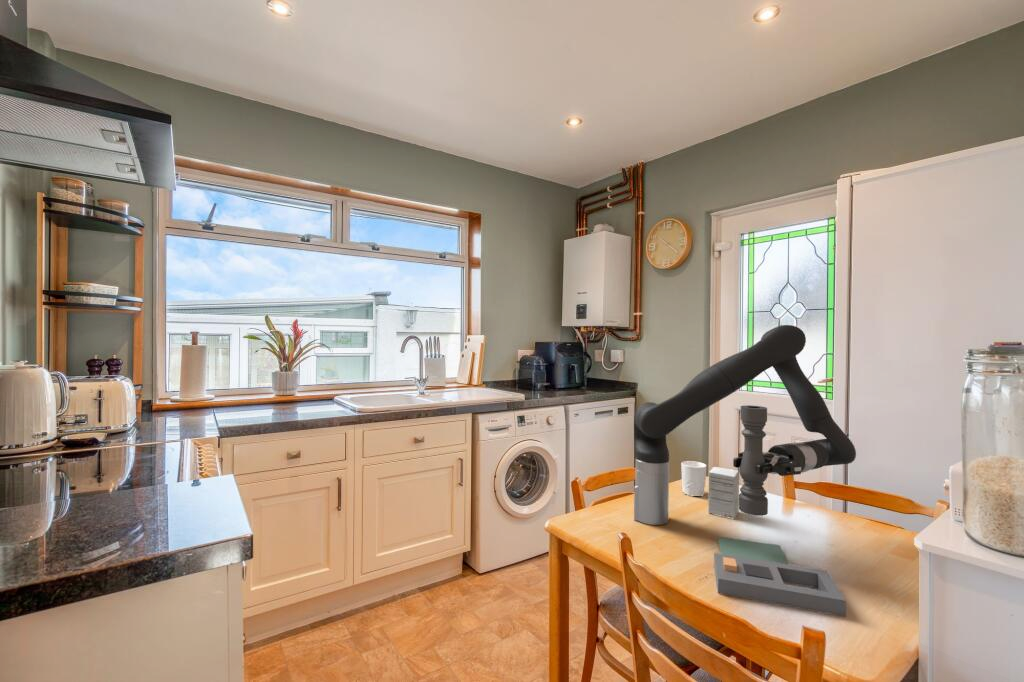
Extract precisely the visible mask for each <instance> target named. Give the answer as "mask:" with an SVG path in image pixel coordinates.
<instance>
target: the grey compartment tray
mask: <svg viewBox="0 0 1024 682" xmlns="http://www.w3.org/2000/svg"><path fill="white" fill-rule="evenodd" d="M713 568H714V575H715V583H716V587H717V588H716V589H717V593H718V594H721V595H727V596H732V597H737V598H742V599H748V600H753V601H759V602H763V603H764V602H765V603H769V604H775V605H780V606H786V607H791V608H798V609H802V610H808V611H814V612H819V613H825V614H829V615H835V616H839V617H845V618H846V617H847V599H846V598H845V597H844V595H843V593H842V592H841V591H840V589H839V587H838V586H837V584H836V582H834V579H833V578H832V576H831V574H829V572H828V570H826V569H825V570H824V569H819V568H812V567H806V566H801V565H800V566H799V565H794V564H789V565H788V564H782V563H776V562H769V561H763V560H757V559H750V558H744V557H738V556H731V555H725V554H721V553H718V552H713ZM786 583H787V584H788V585H787V584H786ZM789 584H790V585H789ZM791 584H792V585H791ZM793 585H794V586H793ZM795 585H798V586H795ZM800 586H802V587H800ZM803 586H804V587H803ZM805 587H806V588H805ZM807 587H809V588H807ZM811 588H815V589H811ZM816 588H817V589H816Z"/></svg>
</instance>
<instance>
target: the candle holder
mask: <svg viewBox="0 0 1024 682" xmlns="http://www.w3.org/2000/svg"><path fill="white" fill-rule="evenodd" d="M740 420H741V424H742V425H743V427H744V429H742V430H741V435H742V436H743V437H744V451H743V452H744V453H743V457H742V460H741V464H740V467H738V469H739V470H738V471H739V476H740V477H741V479H742V482H743V484H742V486H741V487H739V492H740V493H739V512H742V513H744V514H747V515H750V516H758V517H759V516H762V517H763V516H766V515H768V513H769V509H768V508H769V499H768V497H767V494H768V492H767V491H766V490H765V488H764V485H765V484H764V482H765V481H766V480H767V479H768V476H769V473H768V474H763V475H759V474H757V465H759V464H765V459H764V455H763V452H764V451H763V445H764V443H763V439H764V438H765V437H766V436H767V433H766V432H765V431H764V430H763V429H764V428H765V426H766V425H767V424H766V423H767V422H768V407H765V406H761V405H740Z"/></svg>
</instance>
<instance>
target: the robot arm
mask: <svg viewBox="0 0 1024 682" xmlns="http://www.w3.org/2000/svg"><path fill="white" fill-rule="evenodd" d="M806 339H807V338H806V335H805V332H804V331H803V330H802V329H801V328H800V327H797V326H796V325H791V324H782V325H778V326H776V327H773V328H772V329H769V330H768V331H766V332H765V333H763V334H762V336H761V338H760V340H758V341H757V342H756V343H755V344H753V345H751V346H750V347H748V348H746V349H744V350H742V351H740V352H737V353H735V354H732V355H730V356H728V357H726V358H724V359H722V360H720V361H718V362H716V363H714V364H713V365H711V366H709V367H707V368H706V369H704V370H702V371H701V372H700V373H698V374H697V375H696V376H694V377H693V378H692V379H691V380H690V381H689V382H688V383H687V384H686V385H685V386H684V387H683V389H682V390H680V391H679V392H677V393H676V394H675V395H673V396H671V397H669V398H668V399H666V400H663V401H662V402H660V403H656V402H652V401H651V402H644V403H642V404H640V405H639V406H638V407H637V409H636V410H635V413H634V416H633V418H634V419H633V445H634V451H635V472H634V473H635V477H634V478H635V479H634V481H635V482H634V484H635V485H634V489H633V490H634V491H633V492H634V494H633V495H634V496H633V497H634V498H633V501H634V502H633V505H634V507H633V521H636V522H640V523H643V524H646V525H653V526H662V525H665V524H667V523H669V495H670V494H669V493H670V491H669V489H670V488H669V485H670V484H669V483H670V481H669V480H670V450H669V449H668V443H667V435H669V434H670V433H671V432H673V431H674V430H675V429H677V428H678V427H679V426H680V425H682V424H683V423H685V422H686V421H687V420H688V419H690V418H691V417H693V416H694V415H697V414H698V413H700V412H702V411H704V410H705V409H707V408H709V407H711V406H713V405H714V404H715V403H718V402H719V401H722V400H723V399H725V398H727V397H729V396H730V395H732V394H733V393H735V392H737V391H738V390H739V389H741V388H742V387H744V386H745V385H747V384H748V383H750V382H752V380H754V379H755V378H756V377H758V376H759V375H760V374H762V373H763V372H765V371H766V370H768V369H770V368H772V367H773V370H774V371H775V372H776V374H777V375H778V378H779V379H780V381H781V382H782V384H783V386H784V387H785V390H786V391H787V393H788V394H789V395H788V396H789V397H790V399H791V402H792V403H793V405H794V408H795V409H796V412H797V414H798V416H799V418H800V420H801V422H802V424H803V425H802V426H803V427H804V429H805V430H806V431H807V432H810V433H816V434H817V433H818V434H820V435H821V436H823V437H824V438H821V439H815V440H810V441H802V442H790V443H788V442H787V443H783V444H782V443H781V444H776V445H773V446H771V447H770V448H769V449H768V451H767V452H766V451H763V455H764V459H765V464H759V465H757V474H759V475H763V474H768V475H769V474H771V475H779V477H780V476H781V477H788V476H795V475H802V474H803V473H806V472H809V471H813V470H816V469H820V468H823V467H828V466H829V467H830V466H837V465H838V466H839V465H849V464H852V463H853V462H854V461H855V459H856V456H857V451H856V448H855V445H854V444H853V441H852V440H851V439H850V438H849V437H848V436H847V434H845V432H844V431H843V430H842V429H841V427H840V426H839V425H838V424H837V423H836V421H835V420H834V419H833V416H832V414H831V412H830V411H829V410H830V409H829V408H828V407H827V404H826V402H825V400H824V399H823V397H822V394H820V392H819V391H818V390H817V388H816V387H815V386H814V385H813V383H811V381H810V380H809V379H808V377H807V376H806V374H805V373H804V371H803V370H802V368H801V366H800V365H799V362H798V359H797V357H796V356H798V355H799V354H801V352H802V351H803V350H804V348H805V346H806V343H807V341H806ZM743 453H744V451H742V452H738V455H737V456H738V457H734V458H733V463H732V464H733V467H734V468H737V469H739V468H740V464H741V460H742V457H743Z"/></svg>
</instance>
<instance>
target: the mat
mask: <svg viewBox="0 0 1024 682" xmlns="http://www.w3.org/2000/svg"><path fill="white" fill-rule="evenodd" d="M717 541H718V546H719V552H720V554H725V555H731V556H738V557H744V558H750V559H757V560H763V561H769V562H776V563H782V564H788V565H790V563H789V561H788V560H787V557H786V555H785V552H784V551H783V549H782V547H781V545H779V544H772V543H765V542H759V541H753V540H746V539H739V538H732V537H724V536H717Z"/></svg>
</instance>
